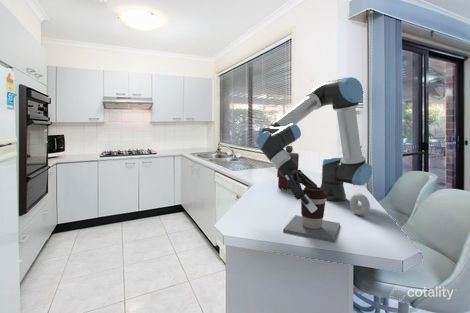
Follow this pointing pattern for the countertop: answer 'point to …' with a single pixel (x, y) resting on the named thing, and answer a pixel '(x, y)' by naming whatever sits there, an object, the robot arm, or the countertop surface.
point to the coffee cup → (318, 199)
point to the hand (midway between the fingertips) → (319, 206)
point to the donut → (364, 202)
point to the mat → (323, 233)
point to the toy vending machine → (295, 157)
